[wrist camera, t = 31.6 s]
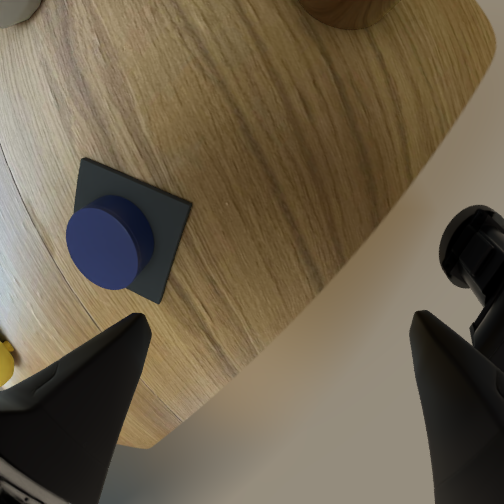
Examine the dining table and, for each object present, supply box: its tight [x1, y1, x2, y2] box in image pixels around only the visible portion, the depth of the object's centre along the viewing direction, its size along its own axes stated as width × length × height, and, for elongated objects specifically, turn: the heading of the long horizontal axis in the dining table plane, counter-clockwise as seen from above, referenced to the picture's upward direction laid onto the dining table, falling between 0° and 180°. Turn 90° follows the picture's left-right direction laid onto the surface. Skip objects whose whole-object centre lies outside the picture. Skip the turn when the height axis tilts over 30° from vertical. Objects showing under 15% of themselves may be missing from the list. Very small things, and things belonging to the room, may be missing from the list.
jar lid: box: [66, 195, 154, 290], centre depth 21 cm, size 7×7×3 cm
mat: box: [74, 157, 192, 304], centre depth 22 cm, size 10×10×1 cm
